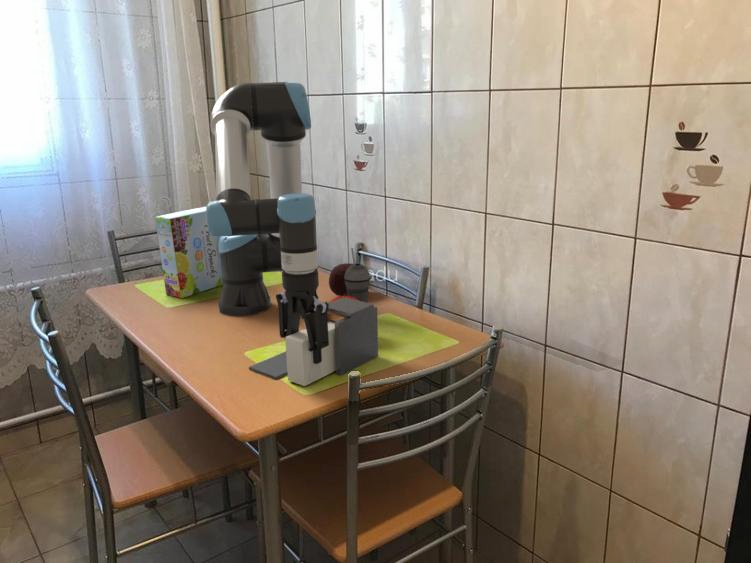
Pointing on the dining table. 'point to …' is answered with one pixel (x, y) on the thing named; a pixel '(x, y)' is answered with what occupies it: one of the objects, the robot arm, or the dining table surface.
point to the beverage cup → (357, 281)
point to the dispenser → (354, 333)
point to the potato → (338, 279)
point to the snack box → (188, 253)
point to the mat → (272, 366)
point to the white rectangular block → (299, 356)
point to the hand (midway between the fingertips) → (305, 372)
